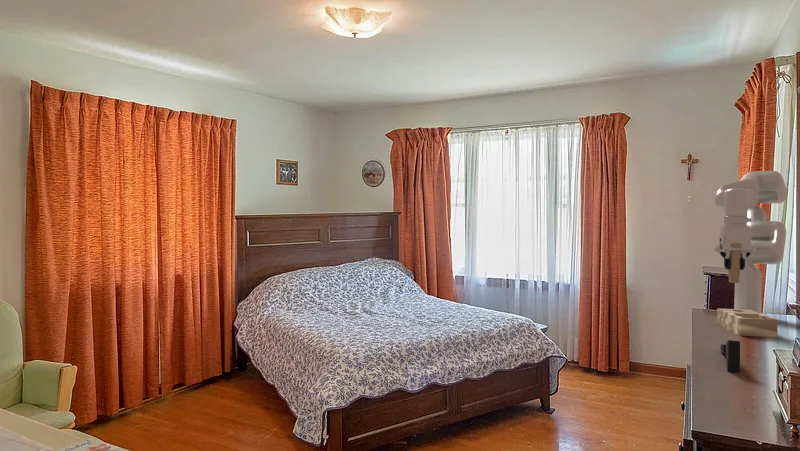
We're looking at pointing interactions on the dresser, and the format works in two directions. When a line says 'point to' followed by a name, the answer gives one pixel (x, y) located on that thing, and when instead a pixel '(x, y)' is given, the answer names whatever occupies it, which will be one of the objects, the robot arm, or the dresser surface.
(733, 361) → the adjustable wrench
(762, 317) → the socket block
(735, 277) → the handle
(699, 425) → the dresser surface
